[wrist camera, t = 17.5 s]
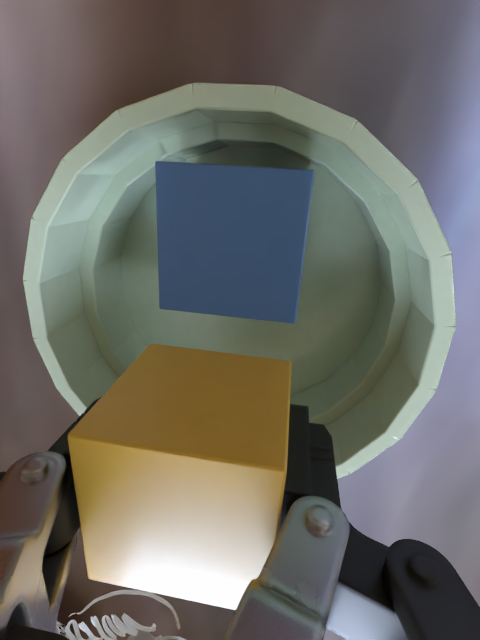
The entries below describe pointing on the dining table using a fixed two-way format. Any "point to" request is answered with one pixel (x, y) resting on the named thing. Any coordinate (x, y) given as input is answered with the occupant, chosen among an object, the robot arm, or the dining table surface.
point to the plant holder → (118, 623)
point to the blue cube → (231, 238)
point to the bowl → (317, 275)
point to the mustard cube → (184, 473)
